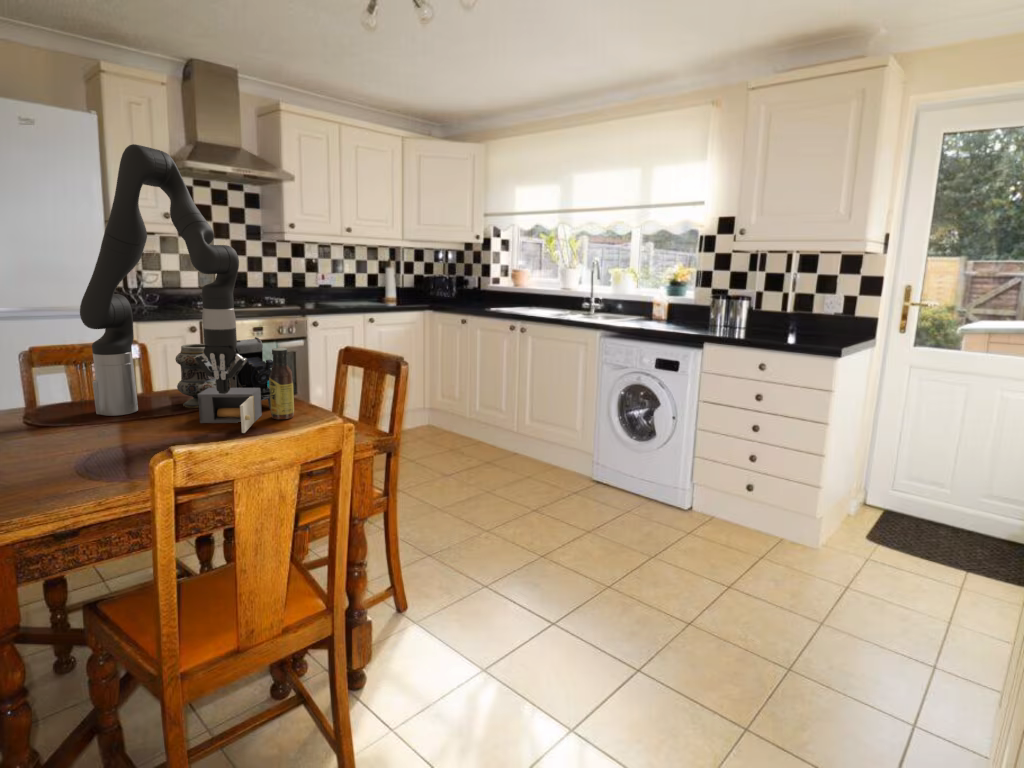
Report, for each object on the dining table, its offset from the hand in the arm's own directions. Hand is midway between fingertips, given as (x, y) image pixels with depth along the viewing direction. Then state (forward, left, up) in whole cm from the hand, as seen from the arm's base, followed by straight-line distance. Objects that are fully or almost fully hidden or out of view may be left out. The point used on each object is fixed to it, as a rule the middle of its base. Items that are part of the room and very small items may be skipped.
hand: (223, 392), depth 157 cm
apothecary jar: (-16, +29, -10) cm, 35 cm away
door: (+5, +2, -10) cm, 11 cm away
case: (-2, +12, -10) cm, 16 cm away
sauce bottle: (+11, +13, -10) cm, 20 cm away
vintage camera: (+1, +28, -11) cm, 30 cm away
